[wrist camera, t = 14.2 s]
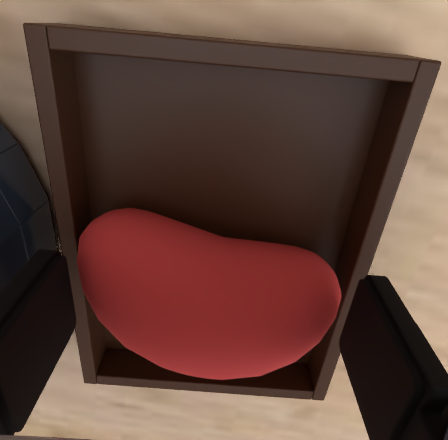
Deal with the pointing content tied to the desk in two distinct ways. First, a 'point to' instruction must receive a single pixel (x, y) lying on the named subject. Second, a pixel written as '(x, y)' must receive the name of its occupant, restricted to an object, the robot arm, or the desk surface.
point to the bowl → (20, 210)
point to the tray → (224, 161)
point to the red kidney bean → (204, 295)
